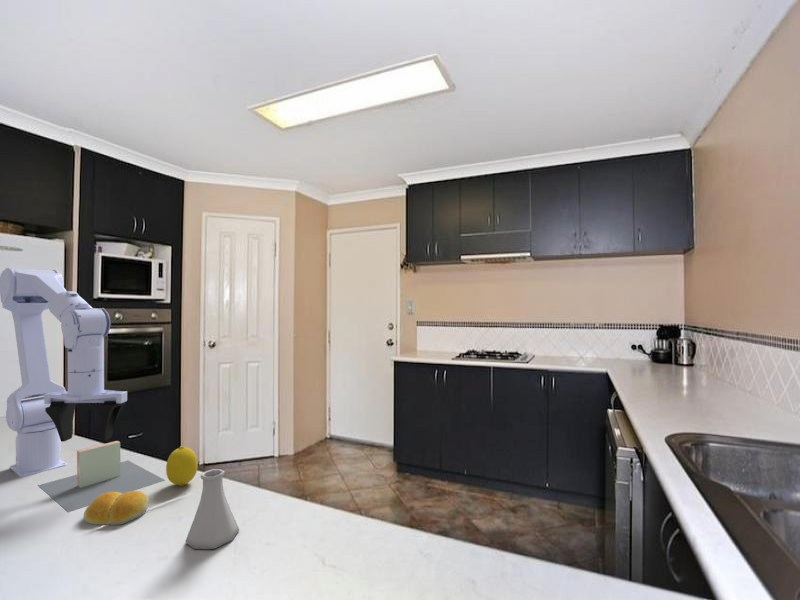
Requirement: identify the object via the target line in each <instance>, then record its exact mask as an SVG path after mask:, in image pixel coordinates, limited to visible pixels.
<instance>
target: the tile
mask: <svg viewBox="0 0 800 600" xmlns="http://www.w3.org/2000/svg"><path fill="white" fill-rule="evenodd" d="M120 462H121V442H120V441H119V440H115V441H110V442H107V443H103V444H98V445H95V446H94V445H93V446H89V447H86V448H81V449H78V450H77V449H76V475H77V486H78V487H79V488H81V487H85V486H88V485H91V484H95V483H98V482H101V481H105V480H108V479H112V478H115V477H118V476H121V475H120Z"/></svg>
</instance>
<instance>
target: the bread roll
mask: <svg viewBox="0 0 800 600" xmlns="http://www.w3.org/2000/svg"><path fill="white" fill-rule="evenodd" d="M148 507H149V498H148V496H147V494H146V493H145V492H143V491H139V490H134V491H130V492H126V493H124V494H122V493H120V492H107V493H103V494H101V495H100V496H98V497H97V498H96V499H95V500H94V501H93V502H92V503H91V504H90V505H89V506H86V507H85V508H86V509H85V510H84V513H83V520H84V521H85V522H86V523H88V524H90V525H99V526H108V525H111V526H118V525H123V524H126V523H128V522H131V521H133V520H134V519H136V518H139V517H140V516H142V515H144V514H145V513H146V512H147V509H148Z"/></svg>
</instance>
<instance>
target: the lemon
mask: <svg viewBox="0 0 800 600" xmlns="http://www.w3.org/2000/svg"><path fill="white" fill-rule="evenodd" d="M165 466H166V467H165V472H166V477H167V479H168V480H169V482H171V484H174V485H177V486H179V487H184V486H186V484H188V483H189V482H191V481H192V480H193V479H194V478H195V476H196V474H197V471H198V466H199V465H198V457H197V454H196V452H195V451H194V450H193V449H191V448H190V447H186V446H185V445H181V446H179V447H178V448H176V449H174V450H173V451H172V452H171V453H170V454H169V456H168V459H167V461H166V465H165Z"/></svg>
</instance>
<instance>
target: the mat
mask: <svg viewBox="0 0 800 600" xmlns="http://www.w3.org/2000/svg"><path fill="white" fill-rule="evenodd" d="M120 475H121V476H118V477H115V478H112V479H108V480H105V481H101V482H98V483H95V484H91V485H88V486H85V487H81V488H79V487H78V486H77V474H73V475H70V476H67V477H63V478H59V479H56V480H52V481H49V482H46V483H45V482H44V483H40V484H37V485H38V487H39V488H40V489H41V490H42V491H43V492H44V493H46V494H47V495H48V496H50V498H51V499H53V500H54V501H55V502H56V503H57V504H58V505H59V506H60V507H62V508H63V509H64V510H65V511H66V512H67V513H70V512H74V511H77V510H80V509H83V508H87V507H88V506H89V505H90V504H91V503H92V502H93V501H94V500H95V499H96V498H97V497H98V496H100V495H101V494H103V493H107V492H120V493H122V494H124V493H126V492H130V491H138V490H139V489H143V488H145V487H149V486H152V485H155V484H158V483H161V482H165V479H164V478H162V477H160V476H158V475H156V474H155V473H153V472H150V471H149V470H147V469H145V468H143V467H142V466H140V465H137V464H136V463H134V462H132V461H130V460H125V461H120Z"/></svg>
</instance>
